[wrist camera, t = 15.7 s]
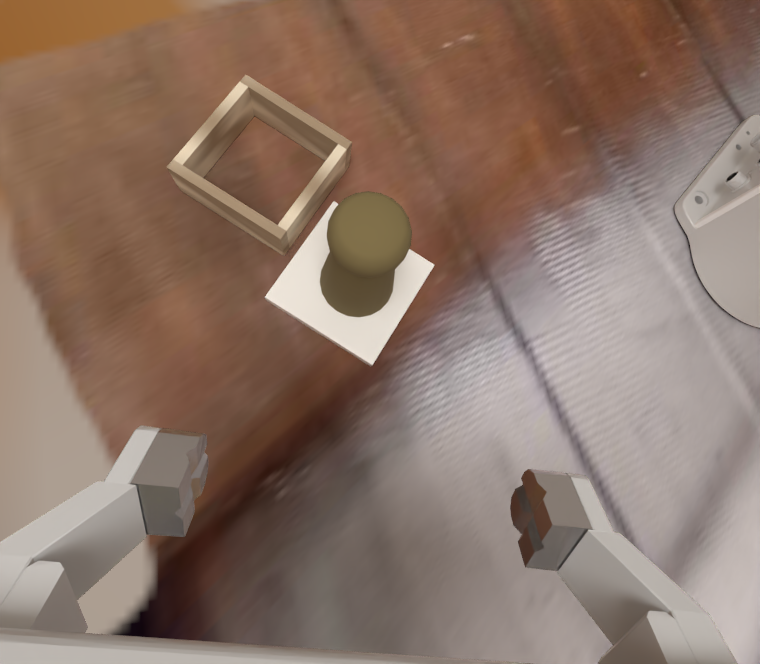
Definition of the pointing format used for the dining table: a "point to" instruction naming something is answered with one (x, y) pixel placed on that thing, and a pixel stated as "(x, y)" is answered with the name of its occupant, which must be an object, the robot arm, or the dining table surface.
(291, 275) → the ceramic tile
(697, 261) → the robot arm
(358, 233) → the cork
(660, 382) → the dining table surface
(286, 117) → the frame
